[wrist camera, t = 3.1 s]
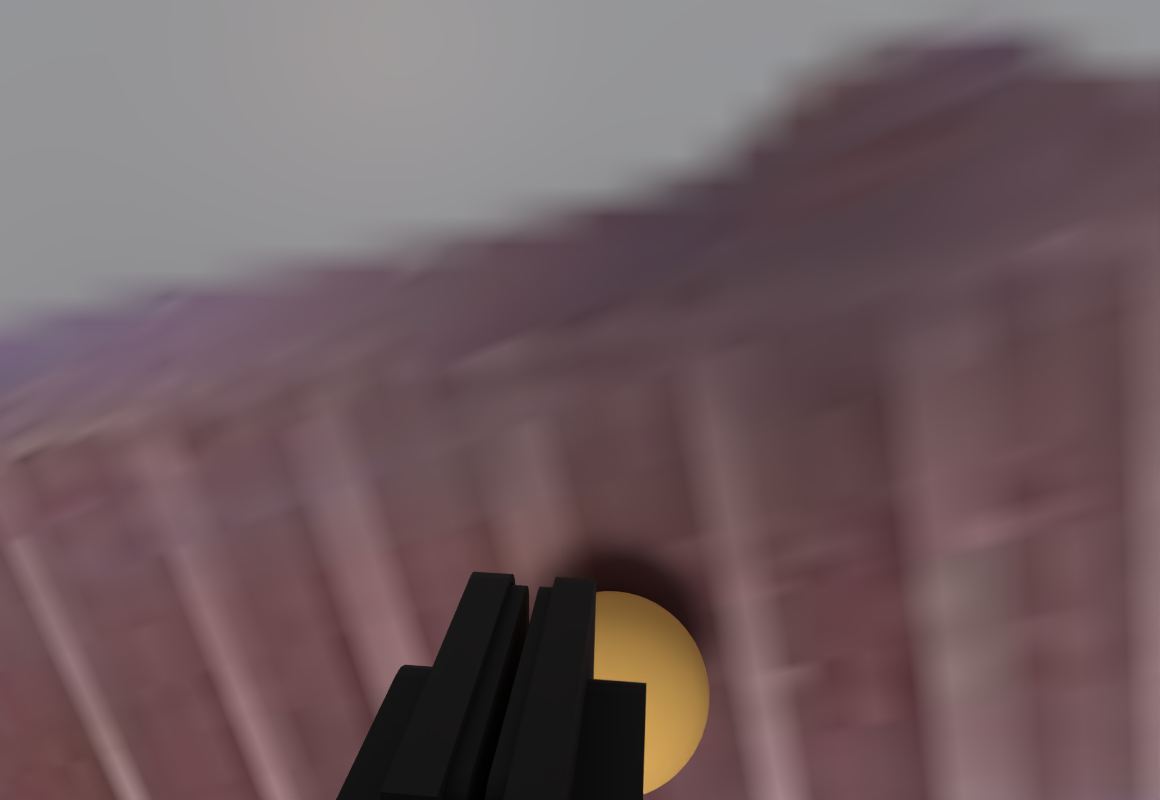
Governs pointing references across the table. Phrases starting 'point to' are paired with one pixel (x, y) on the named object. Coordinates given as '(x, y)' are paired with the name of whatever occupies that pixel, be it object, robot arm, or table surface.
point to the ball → (654, 677)
